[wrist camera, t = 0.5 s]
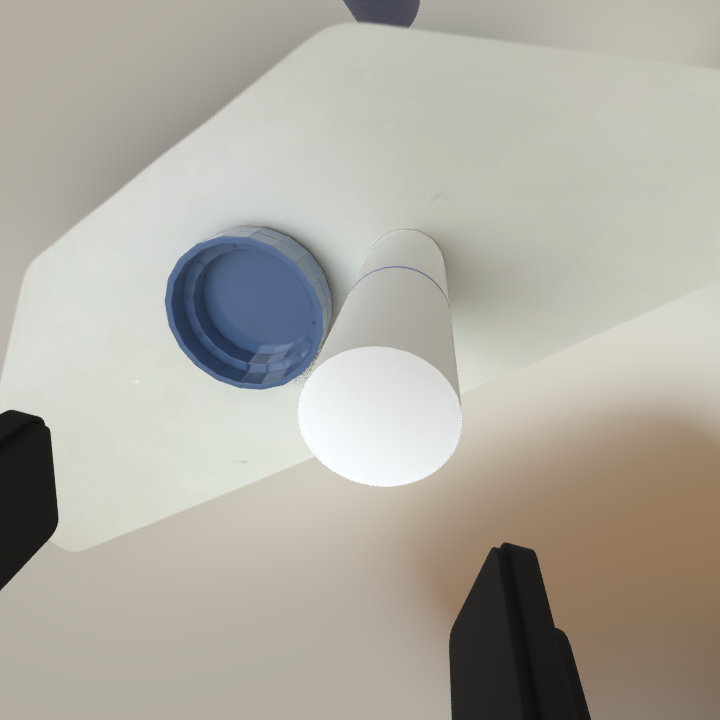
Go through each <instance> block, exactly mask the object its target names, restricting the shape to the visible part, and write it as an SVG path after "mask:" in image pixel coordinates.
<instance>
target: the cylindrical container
mask: <svg viewBox="0 0 720 720" xmlns="http://www.w3.org/2000/svg"><path fill="white" fill-rule="evenodd" d="M298 421H299V426H300V430H301V433H302V435H303V437H304V440H305V442H306V444H307V446H308V447H309V448H310V450H311V451H312V452H313V454H314V455H315V456H316V457H317V458H318V459H319V460H320V461H321V462H322V463H323V464H324V465H326V467H328V468H329V469H331V470H333V471H334V472H336V473H337V474H339V475H340V476H343V477H345V478H347V479H349V480H352V481H355V482H358V483H362V484H366V485H373V486H398V485H404V484H409V483H412V482H415V481H418V480H420V479H423V478H425V477H427V476H428V475H430V474H432V473H433V472H435V471H437V470H438V469H439V468H440V467H441V466H442V465H443V464H444V463H445V462H446V461H447V460H448V459H449V457H450V456H451V455H452V453H453V452H454V450H455V449H456V447H457V444H458V442H459V439H460V436H461V430H462V409H461V401H460V392H459V383H458V375H457V366H456V357H455V349H454V340H453V332H452V324H451V315H450V307H449V298H448V289H447V281H446V272H445V264H444V259H443V256H442V253H441V251H440V249H439V247H438V246H437V245H436V243H435V242H434V241H433V240H432V239H430V238H429V237H428V236H427V235H425V234H423V233H421V232H418V231H414V230H406V229H404V230H396V231H393V232H390V233H388V234H386V235H384V236H383V237H381V238H380V239H379V240H378V241H377V242H376V243H375V244H374V245H373V247H372V248H371V250H370V252H369V254H368V256H367V258H366V260H365V262H364V264H363V266H362V268H361V270H360V272H359V274H358V276H357V278H356V280H355V282H354V284H353V286H352V288H351V290H350V293H349V295H348V297H347V299H346V301H345V303H344V305H343V307H342V309H341V311H340V313H339V315H338V317H337V319H336V321H335V323H334V325H333V327H332V329H331V332H330V334H329V336H328V338H327V340H326V342H325V344H324V346H323V348H322V350H321V352H320V354H319V356H318V358H317V360H316V362H315V364H314V366H313V368H312V370H311V372H310V374H309V376H308V378H307V380H306V382H305V385H304V387H303V389H302V391H301V393H300V398H299V403H298Z"/></svg>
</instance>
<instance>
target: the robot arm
mask: <svg viewBox="0 0 720 720" xmlns="http://www.w3.org/2000/svg"><path fill="white" fill-rule="evenodd" d="M57 525H58V508H57V497H56V487H55V476H54V465H53V455H52V444H51V434H50V429H49V428H48V427H47V426H45V423H44V420H43V419H42V418H41V417H38V416H34V415H30V414H27V413H23V412H19V411H16V410H8V411H6V412H4V413H2V414H0V590H1V589H2V588H3V587H4V586H5V585H6V584H7V583H8V582H9V581H10V580H11V579H12V578H13V577H14V575H15V574H16V573H17V572H18V571H19V570H20V569H21V568H22V567H23V566H24V565H25V564H26V563H27V562H28V561H29V560H30V558H31V557H32V556H33V555H34V554H35V553H36V552H37V551H38V550H39V549H40V548H41V547H42V546H43V545H44V543H46V542H47V541H48V539H49V538H50V537H51V536H52V535H53V533H54V532H55V530H56V527H57ZM449 656H450V679H451V680H450V683H451V709H452V720H591V718H590V714H589V711H588V707H587V704H586V700H585V696H584V693H583V689H582V686H581V682H580V678H579V674H578V671H577V667H576V664H575V660H574V656H573V653H572V649H571V646H570V643H569V640H568V638H567V636H566V635H565V633H564V632H563V631H562V630H560V629H558V628H555V626H554V622H553V618H552V614H551V610H550V606H549V602H548V599H547V595H546V591H545V587H544V583H543V579H542V575H541V571H540V567H539V563H538V559H537V556H536V553H535V552H534V550H532V549H528V548H524V547H521V546H517V545H513V544H510V543H503V544H502V545H501V547H500V548H496V547H493V548H492V549H491V551H490V552H489V554H488V556H487V559H486V560H485V562H484V564H483V566H482V569H481V570H480V572H479V574H478V577H477V579H476V581H475V583H474V585H473V587H472V589H471V591H470V593H469V595H468V597H467V599H466V601H465V603H464V605H463V607H462V609H461V611H460V613H459V615H458V617H457V619H456V621H455V623H454V625H453V627H452V630H451V634H450V642H449Z"/></svg>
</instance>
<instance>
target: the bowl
mask: <svg viewBox="0 0 720 720" xmlns="http://www.w3.org/2000/svg"><path fill="white" fill-rule="evenodd" d="M165 306H166V311H167V317H168V322H169V327H170V329H171V331H172V333H173V335H174V337H175V339H176V341H177V343H178V345H179V347H180V348H181V349H182V350H183V352H184V353H185V354H186V355H187V356H188V357H189V358H190V359H191V361H192V362H193V363H194V364H195V365H196V366H197V367H199V368H200V369H201V370H203V371H204V372H206V373H207V374H209V375H210V376H212V377H213V378H215V379H216V380H219V381H221V382H224V383H227V384H230V385H233V386H236V387H238V388H247V389H260V390H262V389H267V388H271V387H276V386H280V385H284V384H286V383H288V382H289V381H291V380H293V379H294V378H296V377H297V376H299V375H301V374H302V373H303V372H304V371H305V370H306V368H307V367H308V366H309V365H310V363H311V362H312V361H313V360H314V358H315V357H316V355H317V353H318V351H319V349H320V347H321V345H322V343H323V341H324V339H325V337H326V334H327V331H328V328H329V325H330V322H331V319H332V295H331V292H330V289H329V286H328V283H327V280H326V278H325V275H324V272H323V271H322V269H321V268H320V266H319V265H318V264H317V262H316V261H315V260H314V258H313V257H312V256H311V254H310V253H309V252H308V251H307V250H306V249H305V248H303V247H302V246H301V245H299V244H298V243H297V242H295V241H294V240H293V239H292V238H290V237H289V236H287V235H284V234H281V233H279V232H276V231H273V230H270V229H268V228H264V227H242V226H241V227H237V228H234V229H230V230H227V231H224V232H221V233H218V234H216V235H214V236H212V237H210V238H208V239H206V240H204V241H202V242H200V243H198V244H196V245H195V246H194V247H193V248H192V249H190V250H189V251H188V252H187V253H185V254H184V255H183V256H182V257H181V258H180V259H179V260H178V262H177V264H176V265H175V267H174V269H173V271H172V273H171V274H170V276H169V278H168V283H167V290H166V298H165Z"/></svg>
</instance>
